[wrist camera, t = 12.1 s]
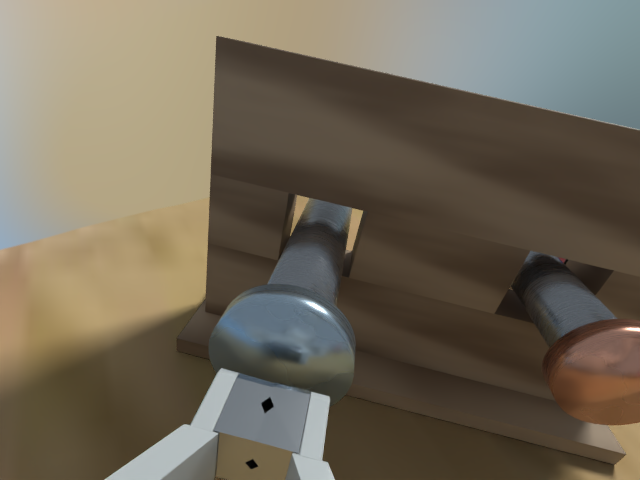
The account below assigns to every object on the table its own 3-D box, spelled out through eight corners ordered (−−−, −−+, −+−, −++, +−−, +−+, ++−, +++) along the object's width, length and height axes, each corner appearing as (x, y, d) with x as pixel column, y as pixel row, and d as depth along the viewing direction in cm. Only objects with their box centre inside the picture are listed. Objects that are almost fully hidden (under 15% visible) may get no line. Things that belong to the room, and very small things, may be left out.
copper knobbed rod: (460, 253, 24) (486, 197, 22) (520, 267, 24) (552, 212, 22) (531, 408, 13) (596, 324, 11) (643, 436, 13) (730, 357, 11)
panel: (229, 275, 26) (248, 41, 19) (548, 354, 25) (702, 143, 18) (176, 350, 19) (173, 27, 12) (615, 464, 18) (915, 192, 11)
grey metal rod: (289, 231, 22) (301, 166, 20) (355, 247, 22) (373, 183, 20) (206, 393, 11) (211, 287, 9) (335, 427, 11) (371, 328, 9)
